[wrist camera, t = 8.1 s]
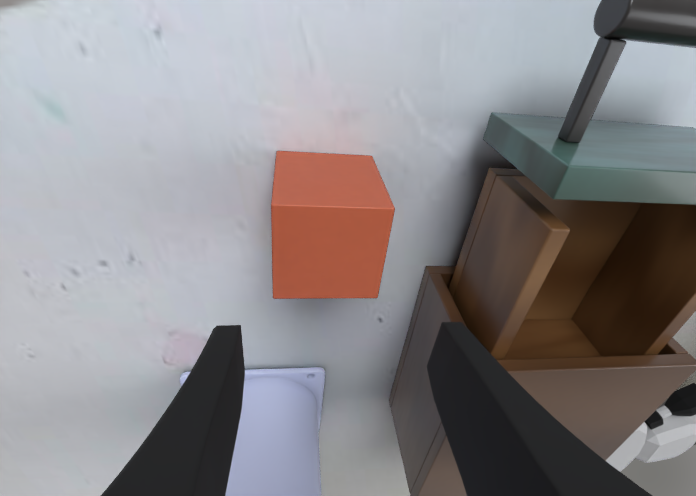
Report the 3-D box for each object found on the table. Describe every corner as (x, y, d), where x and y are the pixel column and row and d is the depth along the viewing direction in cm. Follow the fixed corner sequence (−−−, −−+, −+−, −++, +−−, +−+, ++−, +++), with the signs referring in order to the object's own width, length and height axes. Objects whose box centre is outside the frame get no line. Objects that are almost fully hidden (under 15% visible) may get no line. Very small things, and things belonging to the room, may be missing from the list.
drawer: (532, -22, 14) (655, -22, 9) (765, 9, 15) (972, 24, 10) (427, 317, 23) (460, 400, 19) (575, 315, 25) (639, 391, 20)
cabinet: (425, 265, 22) (475, 373, 16) (599, 267, 24) (702, 364, 18) (388, 400, 30) (412, 507, 24) (521, 393, 31) (575, 491, 25)
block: (277, 232, 19) (273, 299, 15) (276, 150, 17) (270, 204, 13) (361, 234, 20) (377, 298, 16) (372, 155, 18) (395, 208, 14)
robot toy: (701, 349, 32) (537, 386, 30) (757, 396, 28) (575, 442, 27) (645, 425, 39) (510, 459, 38) (684, 470, 36) (537, 510, 34)
